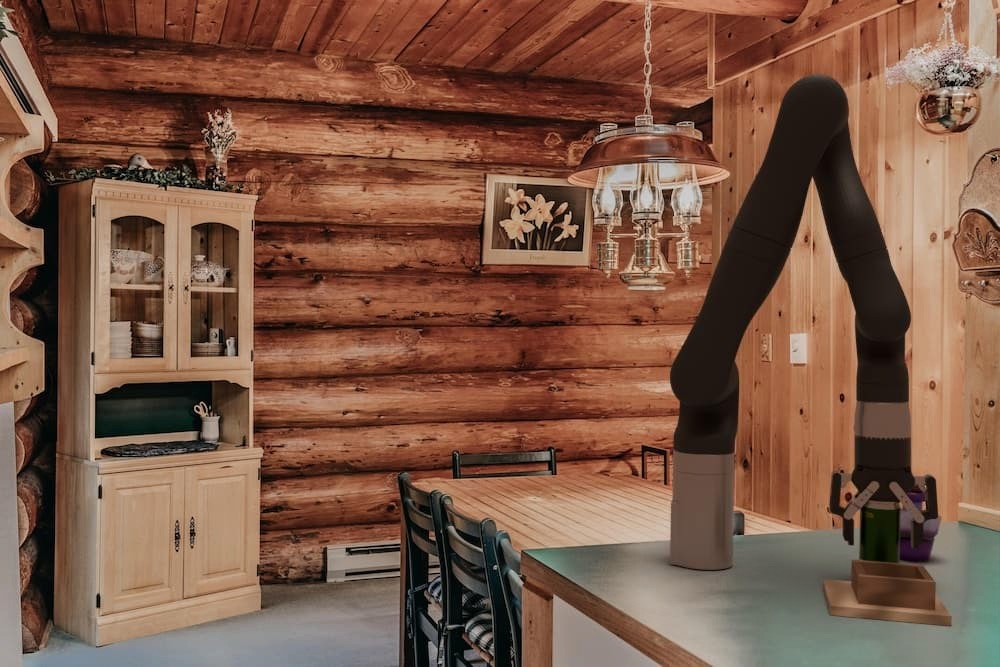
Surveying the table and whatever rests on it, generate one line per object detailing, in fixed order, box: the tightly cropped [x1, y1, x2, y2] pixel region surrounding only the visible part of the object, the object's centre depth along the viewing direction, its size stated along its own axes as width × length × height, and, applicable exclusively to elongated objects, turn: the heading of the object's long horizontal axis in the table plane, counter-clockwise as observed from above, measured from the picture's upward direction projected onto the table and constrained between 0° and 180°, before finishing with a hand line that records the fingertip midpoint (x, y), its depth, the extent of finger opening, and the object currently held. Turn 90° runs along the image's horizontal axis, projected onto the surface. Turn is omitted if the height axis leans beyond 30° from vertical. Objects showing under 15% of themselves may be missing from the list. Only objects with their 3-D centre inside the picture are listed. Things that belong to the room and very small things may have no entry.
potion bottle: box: [900, 484, 942, 564], centre depth 148 cm, size 9×9×12 cm
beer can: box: [858, 499, 902, 563], centre depth 133 cm, size 5×5×12 cm
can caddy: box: [822, 559, 953, 627], centre depth 122 cm, size 14×13×5 cm
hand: (882, 546), depth 133 cm, fingers open, 8 cm apart
